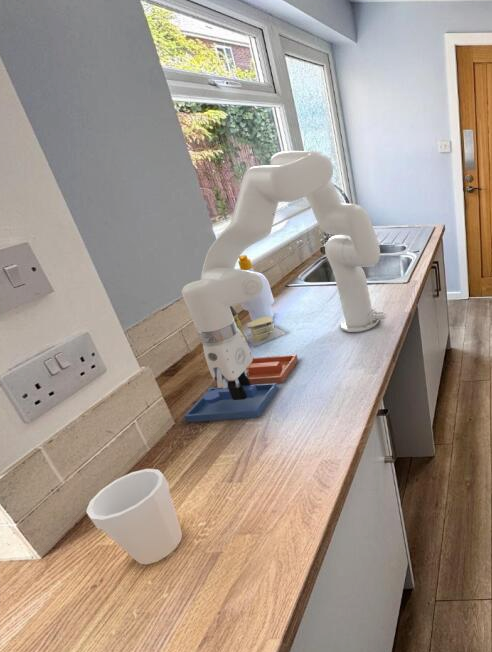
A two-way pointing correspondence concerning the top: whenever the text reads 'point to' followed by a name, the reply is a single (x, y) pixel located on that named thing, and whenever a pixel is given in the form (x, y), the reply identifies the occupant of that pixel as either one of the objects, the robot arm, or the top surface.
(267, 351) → the top surface
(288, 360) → the terracotta tray
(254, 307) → the soap bottle
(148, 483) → the foam cup
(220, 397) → the blue spoon
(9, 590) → the top surface
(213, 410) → the blue tray
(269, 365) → the terracotta spoon
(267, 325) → the stacked layers on plate
